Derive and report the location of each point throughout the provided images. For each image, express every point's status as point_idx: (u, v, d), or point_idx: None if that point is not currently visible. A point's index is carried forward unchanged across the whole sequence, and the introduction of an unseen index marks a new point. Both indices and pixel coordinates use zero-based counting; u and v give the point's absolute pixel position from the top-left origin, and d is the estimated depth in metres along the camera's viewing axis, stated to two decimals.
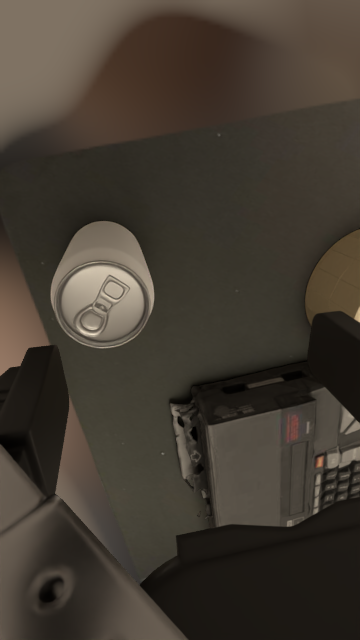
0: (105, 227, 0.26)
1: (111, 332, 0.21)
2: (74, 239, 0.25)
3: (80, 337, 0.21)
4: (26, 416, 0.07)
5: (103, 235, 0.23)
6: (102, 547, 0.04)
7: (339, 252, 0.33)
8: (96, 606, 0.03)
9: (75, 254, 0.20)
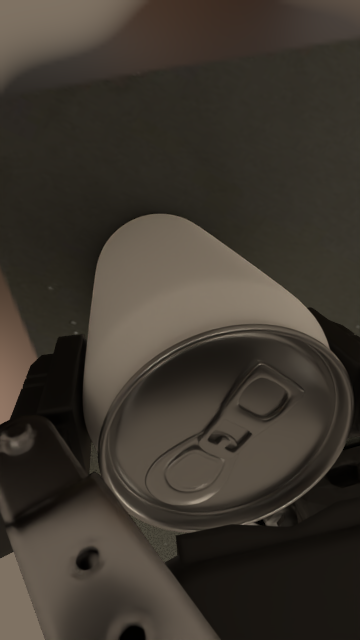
0: (177, 224, 0.13)
1: (236, 490, 0.08)
2: (118, 249, 0.12)
3: (159, 508, 0.08)
4: (67, 396, 0.07)
5: (193, 242, 0.10)
6: (136, 527, 0.04)
7: None
8: (127, 580, 0.03)
9: (154, 297, 0.07)
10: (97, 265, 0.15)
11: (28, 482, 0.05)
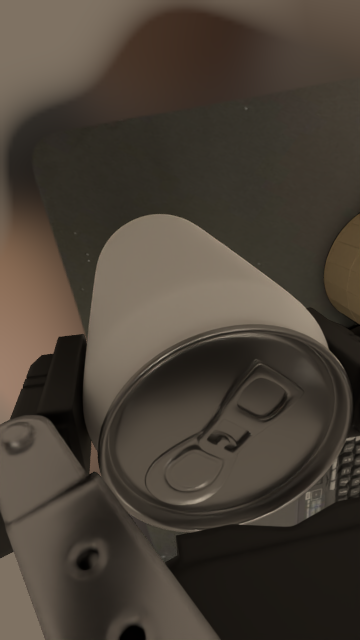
0: (177, 225, 0.13)
1: (235, 490, 0.08)
2: (118, 249, 0.12)
3: (158, 508, 0.08)
4: (67, 396, 0.07)
5: (193, 242, 0.10)
6: (136, 527, 0.04)
7: (358, 224, 0.34)
8: (127, 581, 0.03)
9: (154, 297, 0.07)
10: (97, 265, 0.15)
11: (28, 482, 0.05)
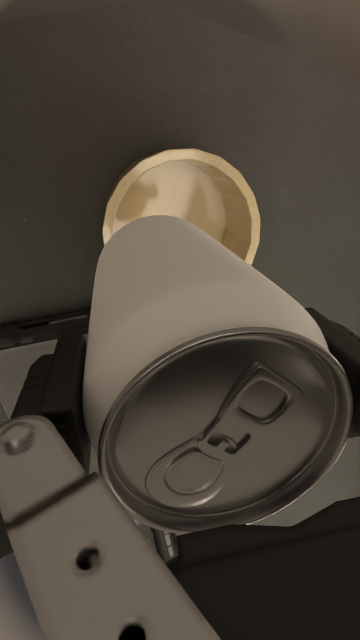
0: (177, 226, 0.13)
1: (235, 492, 0.08)
2: (118, 250, 0.12)
3: (159, 510, 0.08)
4: (67, 396, 0.07)
5: (193, 244, 0.10)
6: (136, 527, 0.04)
7: None
8: (127, 581, 0.03)
9: (153, 300, 0.07)
10: (97, 266, 0.15)
11: (28, 482, 0.05)
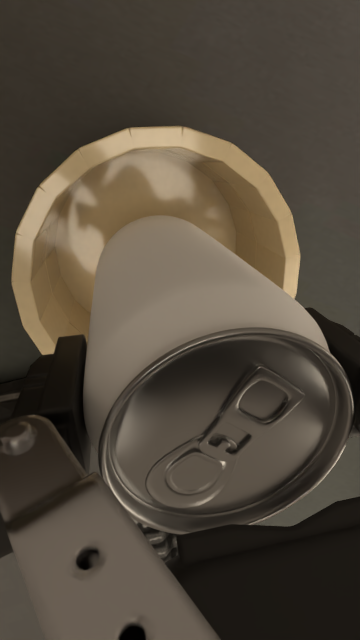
0: (177, 226, 0.13)
1: (236, 492, 0.08)
2: (119, 251, 0.12)
3: (159, 510, 0.08)
4: (67, 396, 0.07)
5: (193, 244, 0.10)
6: (136, 527, 0.04)
7: None
8: (127, 581, 0.03)
9: (154, 300, 0.07)
10: (97, 267, 0.15)
11: (28, 482, 0.05)
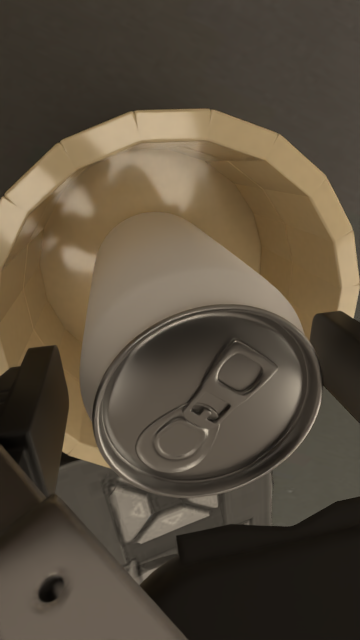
0: (170, 221, 0.14)
1: (218, 459, 0.09)
2: (115, 244, 0.13)
3: (148, 475, 0.09)
4: (26, 416, 0.07)
5: (182, 236, 0.11)
6: (102, 547, 0.04)
7: None
8: (96, 606, 0.03)
9: (143, 282, 0.08)
10: (95, 260, 0.16)
11: None
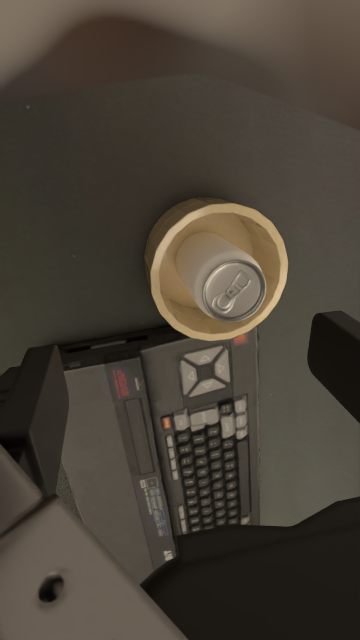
0: (214, 236, 0.35)
1: (235, 311, 0.30)
2: (193, 245, 0.34)
3: (214, 314, 0.30)
4: (26, 416, 0.07)
5: (222, 242, 0.32)
6: (102, 547, 0.04)
7: (161, 219, 0.36)
8: (96, 606, 0.03)
9: (215, 255, 0.29)
10: (179, 252, 0.37)
11: None
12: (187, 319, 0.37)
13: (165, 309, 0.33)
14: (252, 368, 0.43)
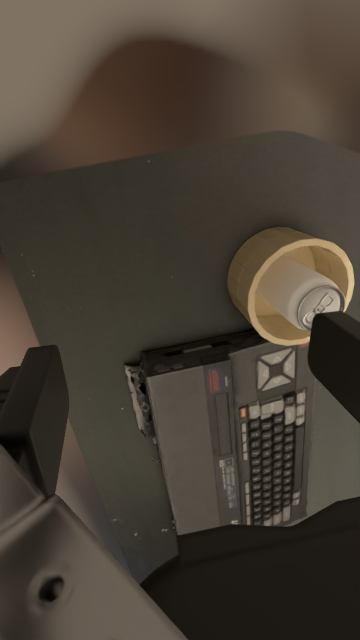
0: (292, 261, 0.43)
1: None
2: (277, 269, 0.42)
3: (303, 326, 0.38)
4: (26, 416, 0.07)
5: (304, 268, 0.40)
6: (102, 547, 0.04)
7: (246, 247, 0.44)
8: (96, 606, 0.03)
9: (306, 281, 0.37)
10: None
11: None
12: (266, 327, 0.45)
13: (256, 321, 0.41)
14: None
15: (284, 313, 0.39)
